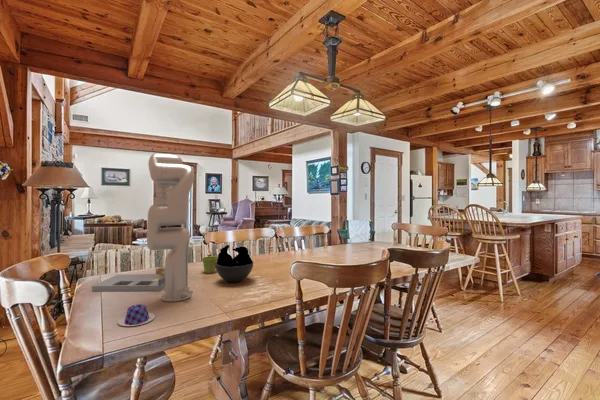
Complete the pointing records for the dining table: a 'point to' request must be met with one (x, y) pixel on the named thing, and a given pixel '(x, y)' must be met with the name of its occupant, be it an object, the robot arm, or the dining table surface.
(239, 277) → the black bowl plant
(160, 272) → the block
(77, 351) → the dining table surface
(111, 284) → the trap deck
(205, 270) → the plant pot
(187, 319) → the dining table surface
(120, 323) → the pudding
